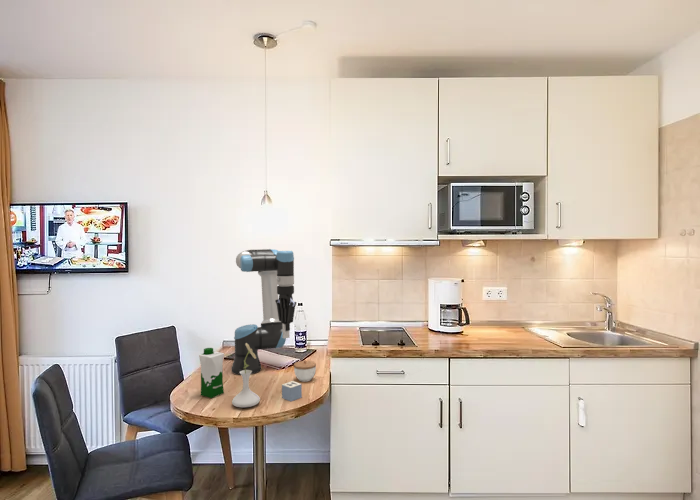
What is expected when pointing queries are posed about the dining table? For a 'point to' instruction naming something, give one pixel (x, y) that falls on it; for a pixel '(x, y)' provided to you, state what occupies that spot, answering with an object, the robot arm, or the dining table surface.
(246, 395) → the flower in vase
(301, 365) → the lidded jar
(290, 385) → the block
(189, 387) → the dining table surface
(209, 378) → the milk carton
